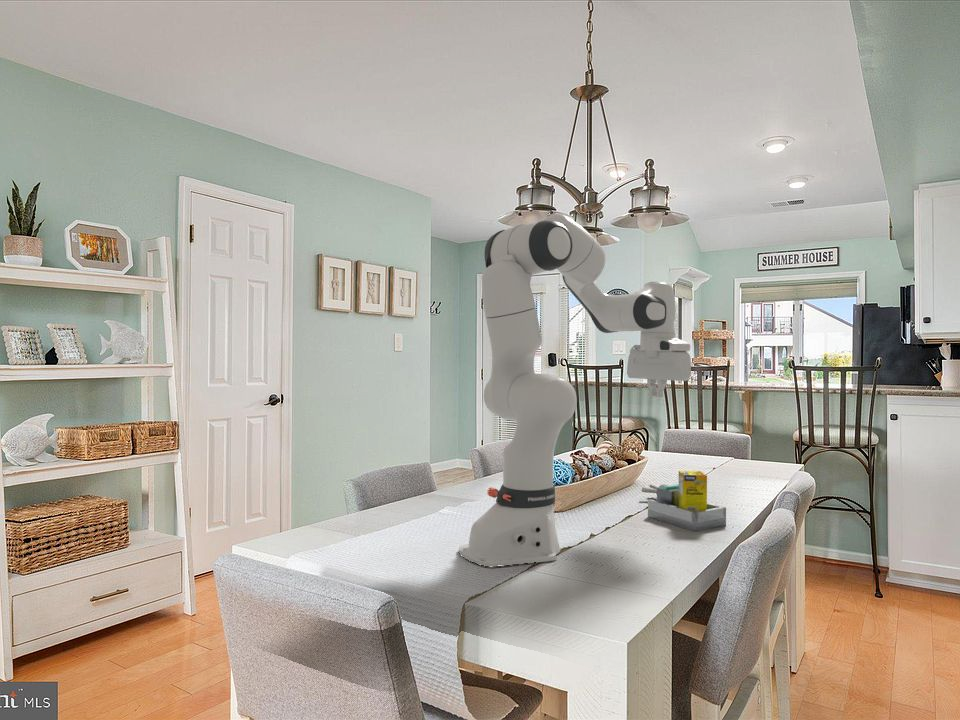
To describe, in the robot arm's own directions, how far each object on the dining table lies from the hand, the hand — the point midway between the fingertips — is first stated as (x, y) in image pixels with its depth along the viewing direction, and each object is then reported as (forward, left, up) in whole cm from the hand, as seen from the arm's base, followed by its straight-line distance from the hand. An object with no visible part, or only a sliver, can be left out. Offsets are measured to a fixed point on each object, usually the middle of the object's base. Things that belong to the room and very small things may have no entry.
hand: (656, 396), depth 173 cm
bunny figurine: (+16, +11, -32) cm, 38 cm away
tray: (+4, -7, -32) cm, 33 cm away
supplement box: (+3, -9, -30) cm, 32 cm away
